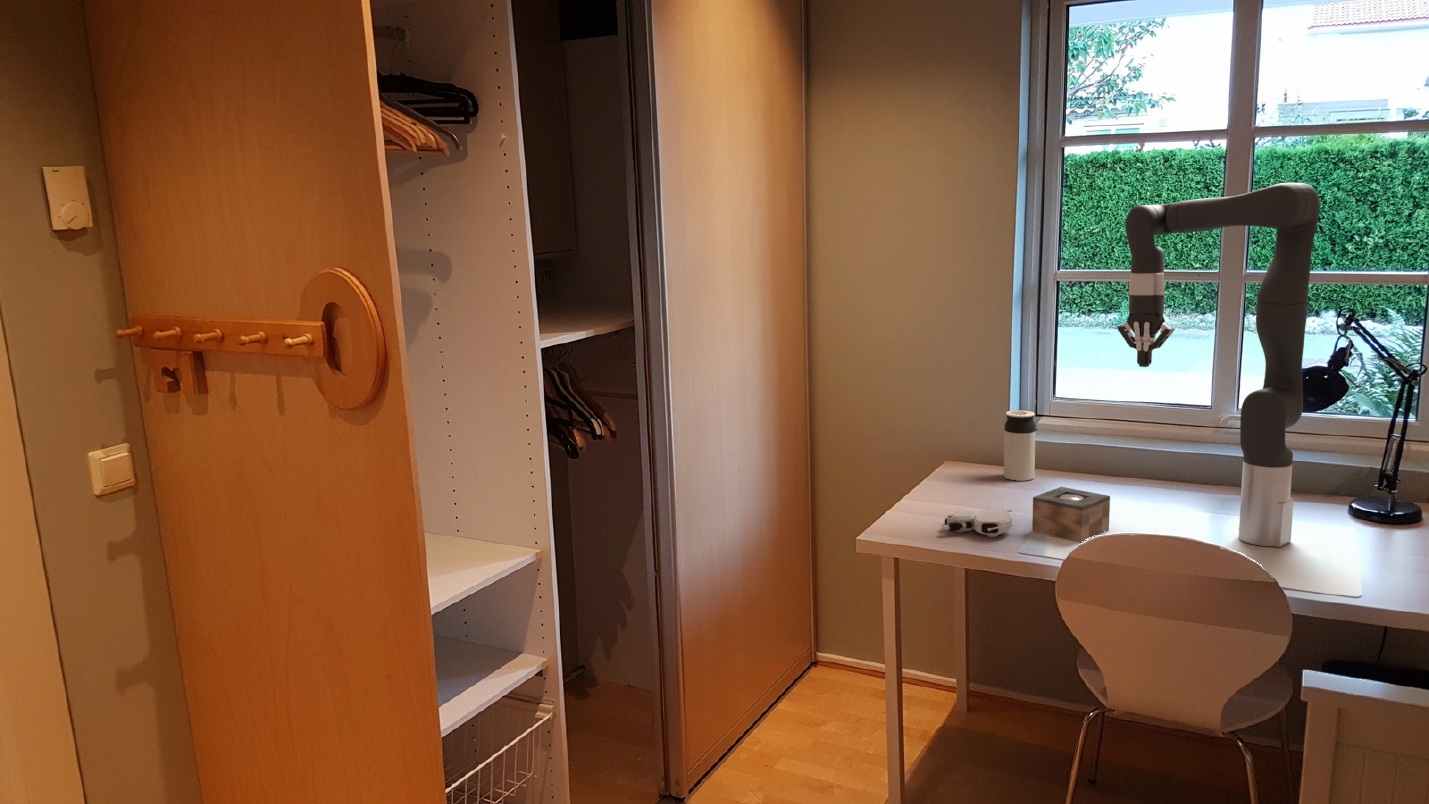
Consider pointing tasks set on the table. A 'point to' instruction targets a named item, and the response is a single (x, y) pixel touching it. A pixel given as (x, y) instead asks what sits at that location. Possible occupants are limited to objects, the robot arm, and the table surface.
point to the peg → (1071, 497)
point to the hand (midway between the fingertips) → (1144, 366)
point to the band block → (1071, 514)
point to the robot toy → (980, 522)
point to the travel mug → (1019, 446)
